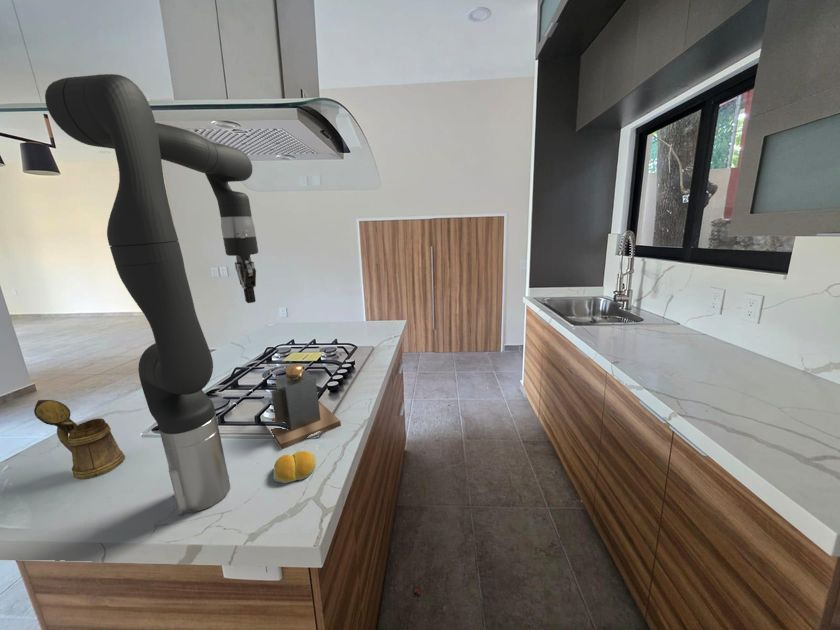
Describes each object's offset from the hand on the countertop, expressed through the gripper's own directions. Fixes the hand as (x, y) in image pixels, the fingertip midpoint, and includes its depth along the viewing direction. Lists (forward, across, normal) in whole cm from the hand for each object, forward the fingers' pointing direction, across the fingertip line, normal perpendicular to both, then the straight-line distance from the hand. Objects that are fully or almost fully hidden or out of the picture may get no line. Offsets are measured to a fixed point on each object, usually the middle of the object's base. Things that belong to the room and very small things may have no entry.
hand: (250, 302), depth 91 cm
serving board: (+35, +10, +6) cm, 36 cm away
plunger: (+32, +10, +6) cm, 34 cm away
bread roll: (+35, +28, -2) cm, 45 cm away
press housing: (+33, +10, +5) cm, 35 cm away
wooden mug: (+35, -5, -39) cm, 53 cm away
